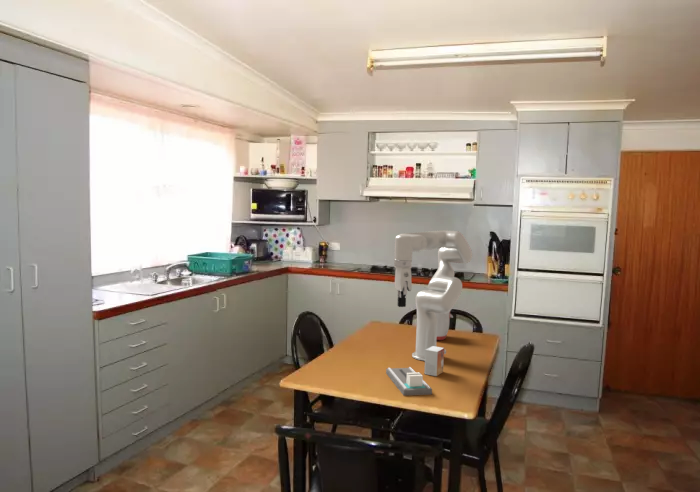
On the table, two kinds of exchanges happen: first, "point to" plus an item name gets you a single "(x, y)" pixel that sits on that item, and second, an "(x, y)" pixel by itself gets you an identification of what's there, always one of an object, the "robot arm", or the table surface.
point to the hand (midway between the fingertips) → (401, 306)
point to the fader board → (400, 381)
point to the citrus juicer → (442, 324)
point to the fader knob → (414, 379)
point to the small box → (434, 360)
